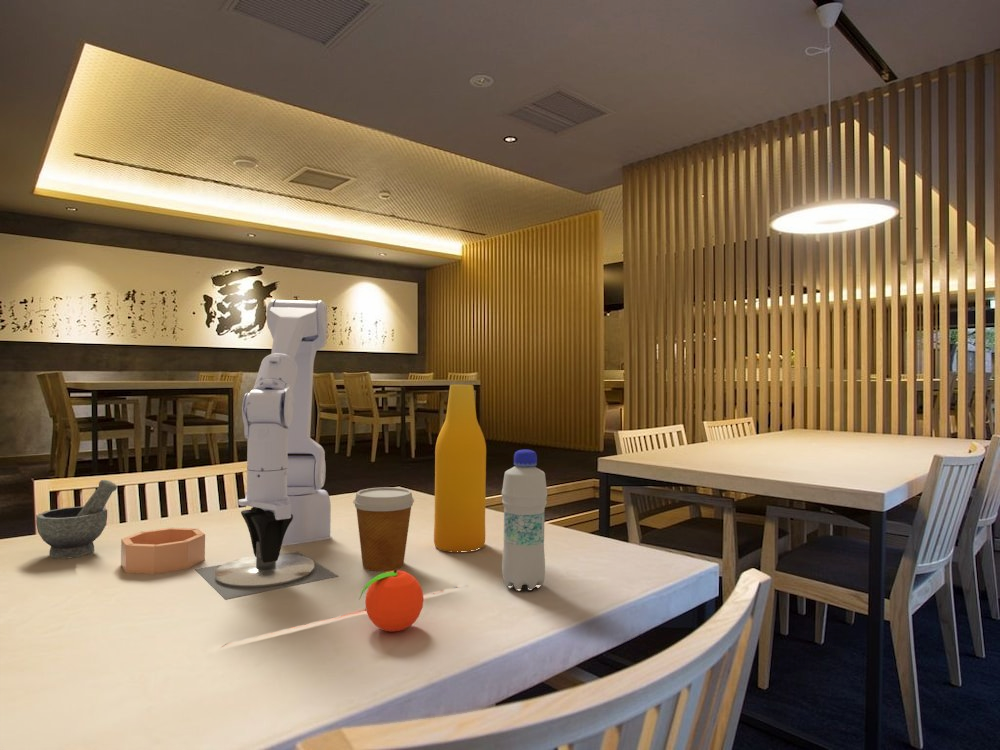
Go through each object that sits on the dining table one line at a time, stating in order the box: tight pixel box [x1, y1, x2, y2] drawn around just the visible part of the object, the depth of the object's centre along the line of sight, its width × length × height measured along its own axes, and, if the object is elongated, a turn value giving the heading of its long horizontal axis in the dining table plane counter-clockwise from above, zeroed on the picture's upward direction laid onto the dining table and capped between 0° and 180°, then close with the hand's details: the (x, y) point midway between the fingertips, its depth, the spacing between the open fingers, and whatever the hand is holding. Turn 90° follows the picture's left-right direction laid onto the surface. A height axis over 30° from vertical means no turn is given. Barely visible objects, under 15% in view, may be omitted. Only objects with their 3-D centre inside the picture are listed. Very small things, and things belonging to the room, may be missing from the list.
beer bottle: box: [433, 384, 487, 553], centre depth 111 cm, size 9×9×29 cm
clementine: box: [358, 569, 425, 632], centre depth 74 cm, size 8×7×7 cm
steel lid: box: [215, 540, 315, 588], centre depth 93 cm, size 14×14×5 cm
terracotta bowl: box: [120, 527, 206, 575], centre depth 98 cm, size 11×11×4 cm
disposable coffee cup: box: [352, 486, 415, 572], centre depth 98 cm, size 10×10×12 cm
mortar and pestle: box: [35, 479, 118, 559], centre depth 104 cm, size 11×9×12 cm
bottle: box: [501, 449, 548, 590], centre depth 90 cm, size 7×7×20 cm
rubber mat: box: [194, 551, 339, 601], centre depth 93 cm, size 16×16×1 cm
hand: (266, 558), depth 93 cm, fingers closed on steel lid, 3 cm apart
